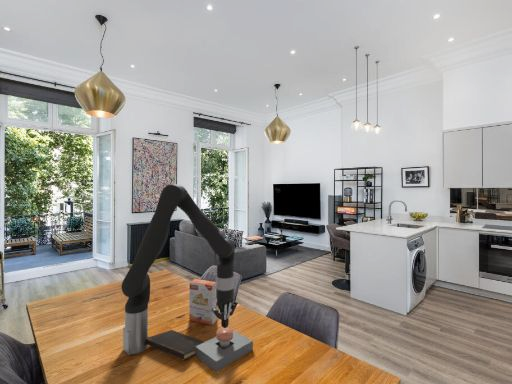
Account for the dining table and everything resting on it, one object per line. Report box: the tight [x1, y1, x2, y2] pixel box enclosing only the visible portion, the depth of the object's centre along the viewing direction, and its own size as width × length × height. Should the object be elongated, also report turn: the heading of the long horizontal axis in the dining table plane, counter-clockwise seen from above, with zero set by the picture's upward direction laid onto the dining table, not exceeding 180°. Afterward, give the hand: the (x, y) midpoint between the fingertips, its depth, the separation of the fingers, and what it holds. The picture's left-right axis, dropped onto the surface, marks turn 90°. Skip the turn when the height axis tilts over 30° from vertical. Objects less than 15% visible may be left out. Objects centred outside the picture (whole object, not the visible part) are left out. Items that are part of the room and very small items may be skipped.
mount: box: [194, 329, 254, 373], centre depth 117 cm, size 20×14×4 cm
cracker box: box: [188, 278, 218, 326], centre depth 144 cm, size 14×6×21 cm, turn 69°
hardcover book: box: [146, 329, 205, 361], centre depth 120 cm, size 16×23×2 cm
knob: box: [216, 326, 234, 349], centre depth 117 cm, size 7×7×6 cm
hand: (225, 327), depth 116 cm, fingers closed
